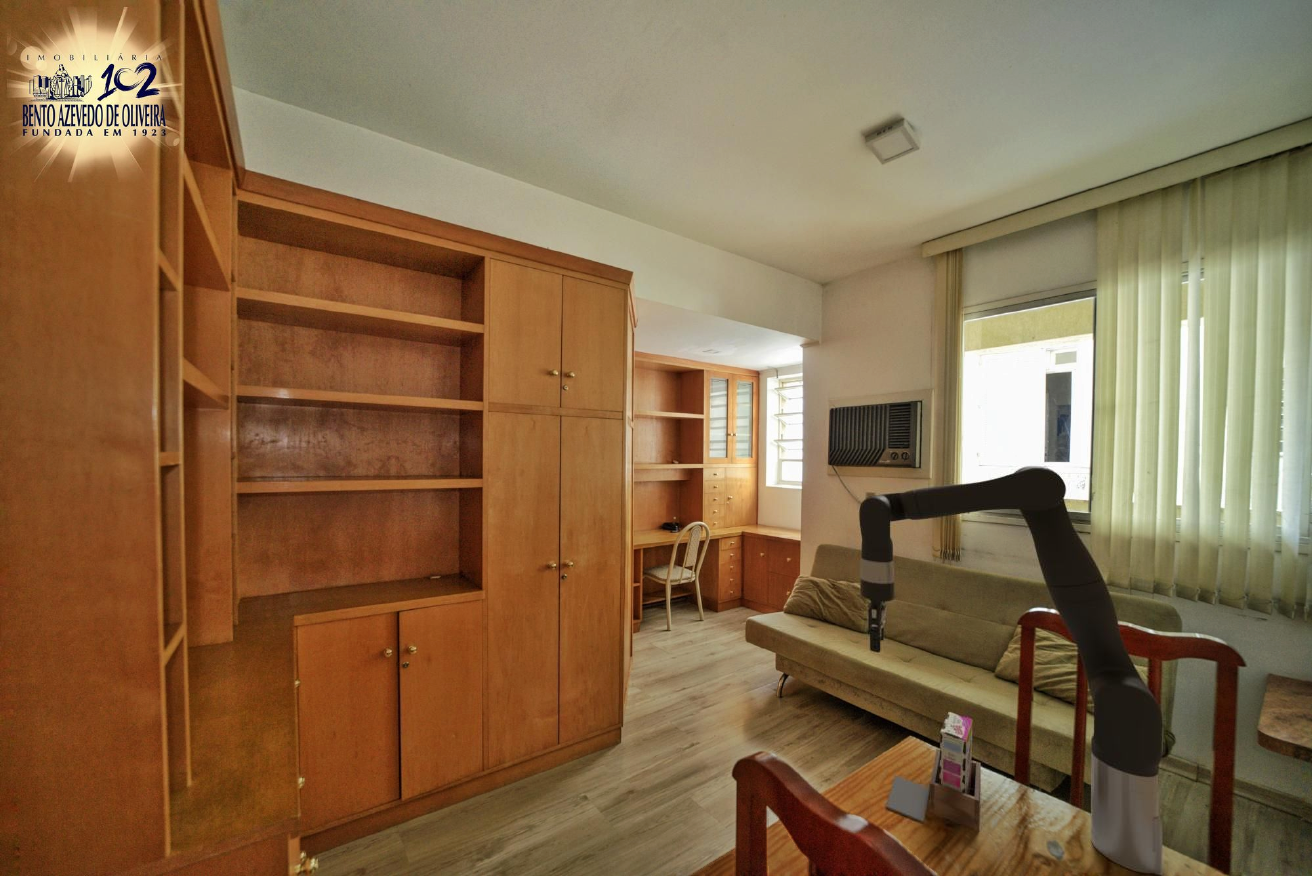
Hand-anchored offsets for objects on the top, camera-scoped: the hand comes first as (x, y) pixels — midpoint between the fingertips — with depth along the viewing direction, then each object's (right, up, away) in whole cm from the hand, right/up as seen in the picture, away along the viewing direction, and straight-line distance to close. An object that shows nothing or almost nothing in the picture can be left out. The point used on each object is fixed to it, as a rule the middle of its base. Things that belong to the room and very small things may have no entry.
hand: (877, 645), depth 117 cm
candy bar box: (+12, -29, -12) cm, 33 cm away
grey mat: (+1, -28, -12) cm, 31 cm away
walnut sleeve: (+12, -29, -12) cm, 33 cm away
